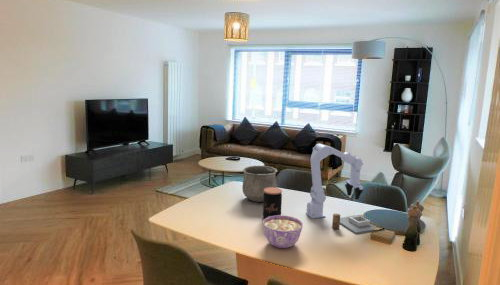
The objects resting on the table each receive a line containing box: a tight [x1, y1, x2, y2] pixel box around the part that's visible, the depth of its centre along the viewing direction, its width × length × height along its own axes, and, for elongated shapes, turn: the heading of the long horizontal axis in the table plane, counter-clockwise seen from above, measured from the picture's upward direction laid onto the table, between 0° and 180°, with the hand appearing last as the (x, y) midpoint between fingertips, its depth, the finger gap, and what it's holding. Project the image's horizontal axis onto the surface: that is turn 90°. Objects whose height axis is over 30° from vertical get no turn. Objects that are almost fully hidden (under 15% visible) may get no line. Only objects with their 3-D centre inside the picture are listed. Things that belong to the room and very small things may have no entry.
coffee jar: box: [262, 187, 283, 220], centre depth 212 cm, size 11×11×18 cm
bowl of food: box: [262, 214, 304, 249], centre depth 181 cm, size 20×20×12 cm
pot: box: [241, 165, 279, 203], centre depth 244 cm, size 25×24×21 cm
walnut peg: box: [331, 213, 341, 231], centre depth 202 cm, size 4×4×8 cm
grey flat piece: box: [340, 214, 376, 235], centre depth 209 cm, size 20×20×4 cm
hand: (353, 197), depth 226 cm, fingers open, 7 cm apart
